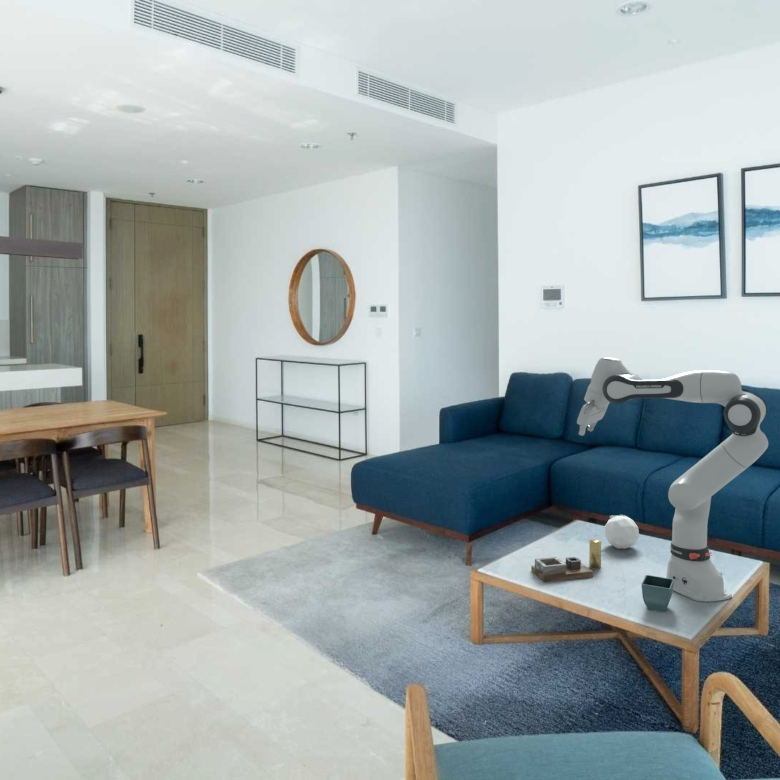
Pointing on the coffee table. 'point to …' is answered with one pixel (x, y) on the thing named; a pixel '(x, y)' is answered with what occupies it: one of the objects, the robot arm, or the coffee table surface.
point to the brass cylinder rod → (595, 554)
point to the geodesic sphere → (621, 531)
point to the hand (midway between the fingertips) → (585, 432)
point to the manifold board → (560, 569)
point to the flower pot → (657, 592)
